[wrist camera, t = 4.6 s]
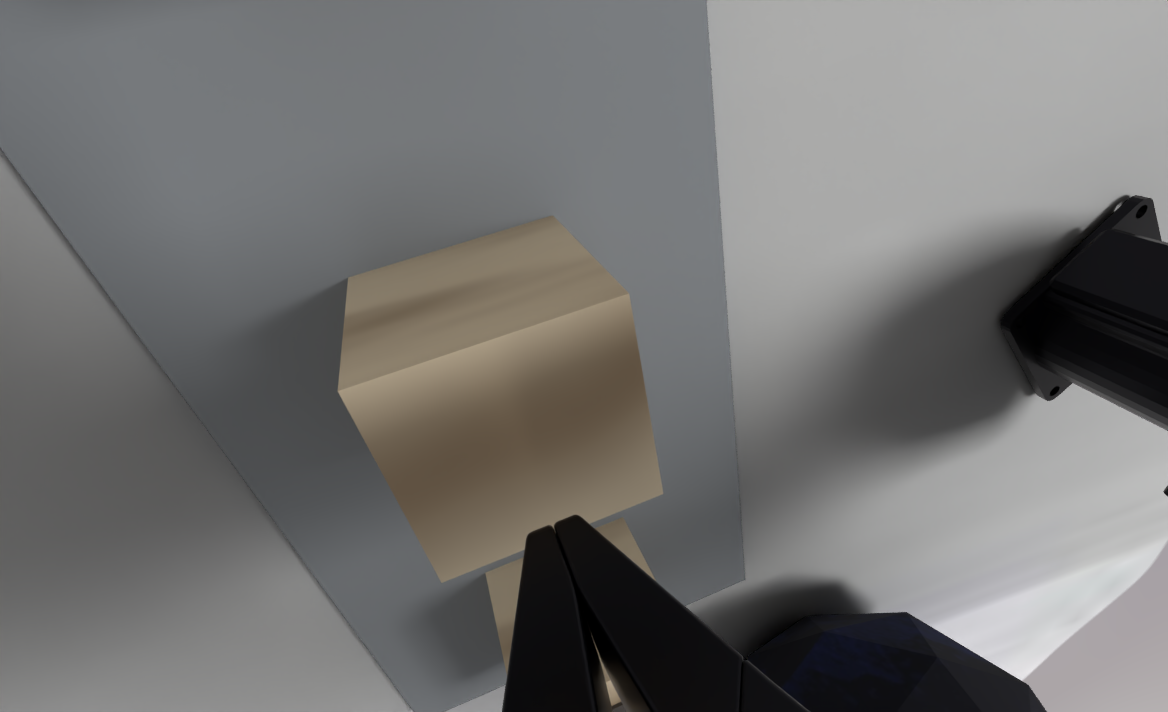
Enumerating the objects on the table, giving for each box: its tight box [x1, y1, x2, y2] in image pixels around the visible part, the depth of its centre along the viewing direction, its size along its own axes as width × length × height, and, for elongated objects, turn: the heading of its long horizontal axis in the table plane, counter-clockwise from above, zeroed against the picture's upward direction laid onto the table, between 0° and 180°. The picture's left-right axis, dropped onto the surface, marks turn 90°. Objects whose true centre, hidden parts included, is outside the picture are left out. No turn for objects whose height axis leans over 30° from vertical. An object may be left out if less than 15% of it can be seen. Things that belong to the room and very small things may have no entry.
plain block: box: [338, 215, 663, 583], centre depth 13 cm, size 5×5×5 cm
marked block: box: [485, 517, 656, 712], centre depth 19 cm, size 5×5×5 cm
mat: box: [0, 0, 745, 712], centre depth 15 cm, size 30×14×1 cm, turn 12°
